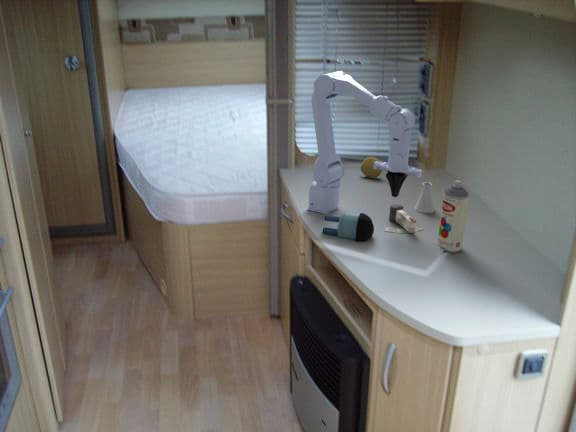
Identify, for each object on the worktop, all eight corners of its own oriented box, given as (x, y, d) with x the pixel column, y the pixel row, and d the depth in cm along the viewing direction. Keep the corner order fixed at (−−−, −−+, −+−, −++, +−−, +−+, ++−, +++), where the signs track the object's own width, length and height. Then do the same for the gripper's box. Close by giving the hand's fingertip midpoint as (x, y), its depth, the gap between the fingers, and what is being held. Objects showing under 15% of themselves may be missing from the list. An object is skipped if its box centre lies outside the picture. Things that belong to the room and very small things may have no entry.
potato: (359, 175, 230) (360, 154, 227) (378, 174, 230) (380, 154, 227) (363, 180, 223) (364, 160, 220) (383, 180, 224) (384, 159, 221)
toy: (323, 240, 177) (372, 247, 173) (317, 233, 169) (369, 240, 165) (327, 213, 179) (377, 219, 175) (322, 205, 171) (373, 211, 167)
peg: (386, 218, 186) (388, 204, 184) (398, 217, 187) (399, 203, 185) (407, 235, 173) (408, 221, 171) (419, 234, 174) (421, 220, 173)
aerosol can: (432, 245, 170) (439, 179, 163) (451, 241, 173) (460, 176, 165) (447, 255, 164) (455, 186, 157) (466, 251, 167) (476, 183, 159)
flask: (435, 217, 190) (439, 188, 186) (412, 215, 191) (415, 186, 187) (435, 209, 196) (438, 181, 193) (412, 207, 198) (415, 179, 194)
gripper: (370, 150, 173) (367, 194, 178) (417, 159, 166) (412, 204, 171) (380, 145, 179) (377, 188, 184) (426, 153, 172) (421, 197, 177)
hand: (395, 195), depth 178 cm, fingers closed
